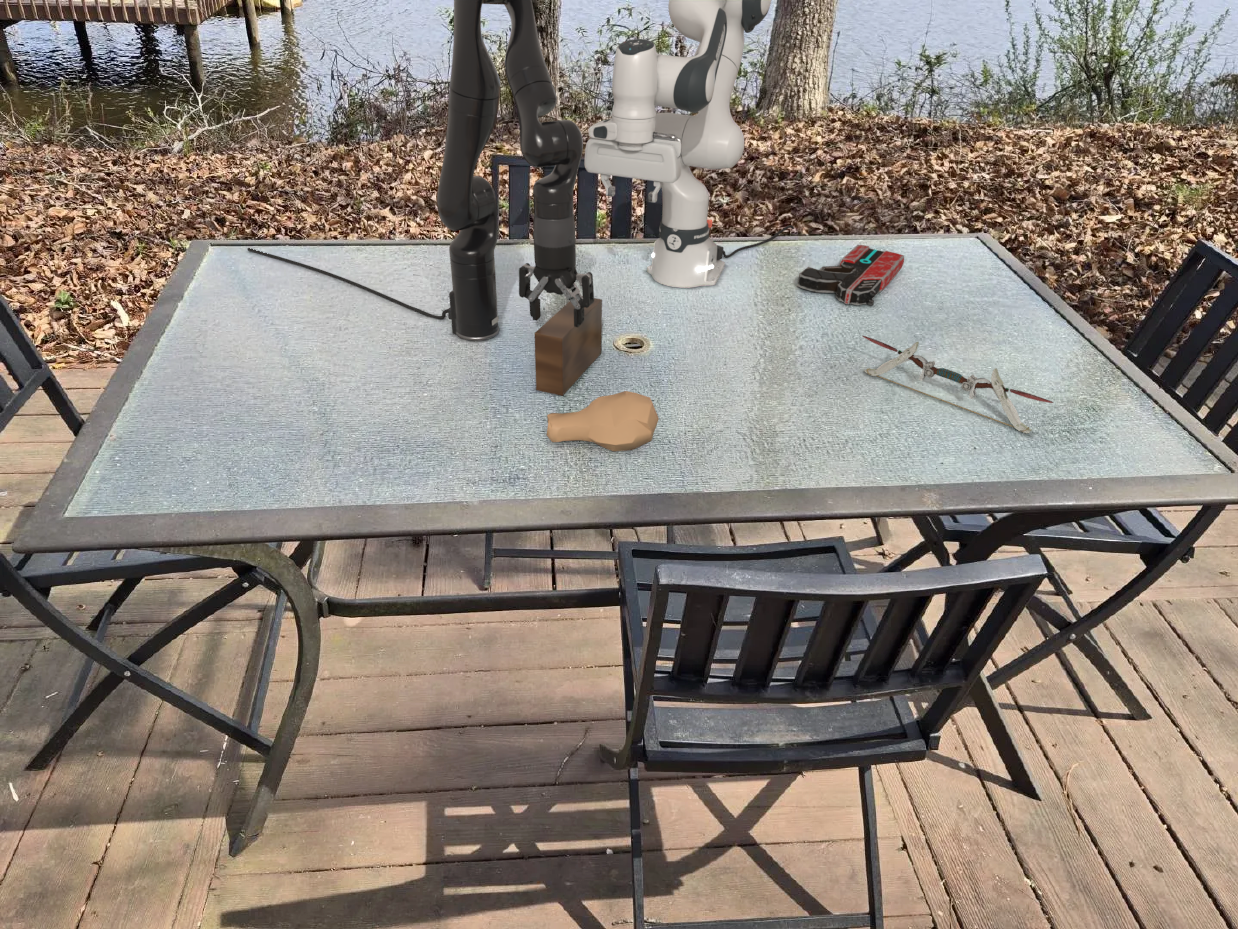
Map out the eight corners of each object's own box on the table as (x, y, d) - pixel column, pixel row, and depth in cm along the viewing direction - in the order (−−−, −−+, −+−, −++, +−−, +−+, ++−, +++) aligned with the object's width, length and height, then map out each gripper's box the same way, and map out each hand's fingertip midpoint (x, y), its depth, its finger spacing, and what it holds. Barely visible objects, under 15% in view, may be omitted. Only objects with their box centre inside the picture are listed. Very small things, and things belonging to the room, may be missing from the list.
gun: (795, 274, 213) (872, 294, 206) (838, 237, 235) (909, 253, 227) (792, 292, 216) (868, 311, 208) (835, 253, 238) (905, 269, 230)
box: (562, 396, 170) (562, 338, 163) (536, 390, 172) (534, 333, 165) (601, 353, 186) (602, 299, 179) (576, 348, 187) (576, 294, 181)
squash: (661, 458, 153) (657, 419, 147) (548, 466, 154) (539, 428, 148) (659, 417, 161) (656, 379, 154) (552, 426, 162) (544, 388, 156)
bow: (1043, 436, 162) (1060, 388, 156) (1039, 439, 161) (1056, 392, 155) (858, 367, 183) (866, 322, 177) (853, 369, 182) (862, 325, 176)
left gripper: (599, 237, 158) (599, 320, 167) (527, 227, 162) (531, 309, 171) (583, 250, 152) (584, 336, 161) (509, 240, 156) (514, 324, 165)
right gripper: (687, 131, 176) (683, 200, 183) (593, 121, 182) (592, 188, 189) (677, 138, 171) (673, 209, 179) (581, 127, 177) (581, 196, 184)
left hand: (557, 322), depth 166 cm, fingers open, 8 cm apart
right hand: (631, 198), depth 184 cm, fingers open, 8 cm apart
